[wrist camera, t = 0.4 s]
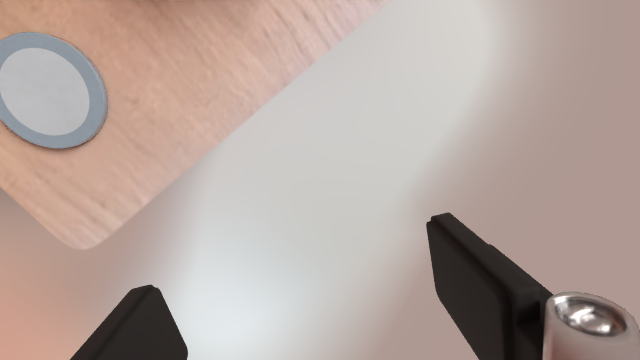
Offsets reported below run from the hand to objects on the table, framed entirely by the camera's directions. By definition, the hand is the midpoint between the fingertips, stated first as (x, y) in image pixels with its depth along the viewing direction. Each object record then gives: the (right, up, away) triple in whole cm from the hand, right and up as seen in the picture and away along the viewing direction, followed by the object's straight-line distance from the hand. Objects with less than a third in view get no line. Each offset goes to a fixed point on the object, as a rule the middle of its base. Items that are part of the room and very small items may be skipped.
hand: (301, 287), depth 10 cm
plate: (-24, +12, +17) cm, 32 cm away
